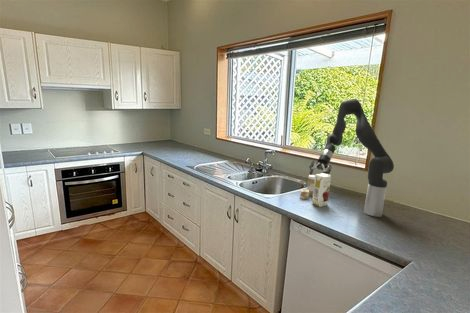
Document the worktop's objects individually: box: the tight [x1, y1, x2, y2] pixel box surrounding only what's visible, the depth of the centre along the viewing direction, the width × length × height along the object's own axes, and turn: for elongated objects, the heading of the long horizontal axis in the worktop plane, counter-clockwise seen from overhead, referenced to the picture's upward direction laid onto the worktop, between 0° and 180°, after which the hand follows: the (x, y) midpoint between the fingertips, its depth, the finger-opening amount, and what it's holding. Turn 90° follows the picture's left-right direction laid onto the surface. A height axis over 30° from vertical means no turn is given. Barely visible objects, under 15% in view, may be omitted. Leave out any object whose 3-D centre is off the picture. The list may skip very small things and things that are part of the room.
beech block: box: [299, 188, 309, 200], centre depth 171 cm, size 5×5×5 cm
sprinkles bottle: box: [306, 174, 315, 197], centre depth 176 cm, size 5×5×14 cm
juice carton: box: [311, 172, 332, 208], centre depth 160 cm, size 8×9×19 cm
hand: (316, 175), depth 180 cm, fingers open, 8 cm apart
